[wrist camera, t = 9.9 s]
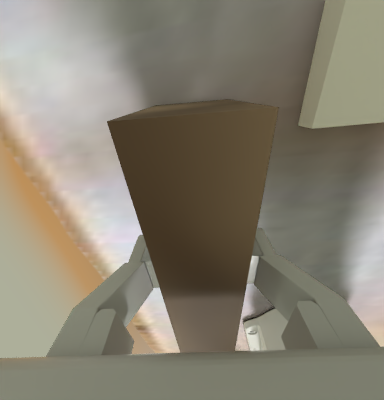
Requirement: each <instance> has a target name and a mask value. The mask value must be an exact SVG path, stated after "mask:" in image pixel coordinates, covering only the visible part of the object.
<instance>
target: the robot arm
mask: <svg viewBox="0 0 384 400" xmlns="http://www.w3.org/2000/svg"><path fill="white" fill-rule="evenodd" d="M247 283H254V285H255V286H256V287H257V288H258V289H259V290H260V291H261V292H262V293H263V295H264V296H265V297H266V298H267V299H268V300H269V301H270V302H271V303H272V304H273V306H274V307H275V309H273V310H271V311H269V312H267V313H265V314H264V315H262V316H260V317H258V318H255V319H252V320H249V321H246V322H244V324H243V325H244V330H245V334H246V338H247V342H248V346H249V350H250V351H222V352H189V353H156V354H131V353H132V348H133V344H134V340H133V338H132V337H131V335H130V334H129V332H128V330H127V329H126V326H127V325H128V324H129V322H130V321H131V320H132V318H133V317H134V315H135V314H136V313H137V311H138V310H139V308H140V307H141V306H142V304H143V303H144V301H145V300H146V299H147V297H148V296H149V294H150V293H151V292H152V290H153V288H158V287H159V283H158V280H157V277H156V274H155V271H154V268H153V265H152V261H151V258H150V255H149V252H148V249H147V246H146V243H145V240H144V236H143V235H140V236H139V237H138V239H137V241H136V244H135V246H134V249H133V252H132V254H131V257H130V259H129V262H128V263H124V264H123V265H122V266H121V267H120V268H119V269H118V270H116V271H115V272H114V273H113V274H112V275H111V276H110V277H109V278H107V279H106V280H105V281H104V282H103V283H102V284H101V285H100V286H98V287H97V288H96V289H95V290H94V291H93V292H91V293H90V294H89V295H88V296H87V297H86V298H85V299H83V300H82V301H81V302H80V303H79V304H78V305H77V306H75V307H74V308H73V309H72V311H71V313H70V315H69V317H68V318H67V320H66V322H65V324H64V326H63V327H62V329H61V331H60V333H59V334H58V336H57V338H56V340H55V342H54V343H53V345H52V347H51V348H50V350H49V352H48V354H47V356H46V357H25V358H0V400H384V347H380V346H379V344H378V343H377V342H376V340H375V339H374V338H373V336H372V335H371V334H370V332H369V331H368V330H367V328H366V327H365V326H364V324H363V323H362V322H361V320H360V319H359V318H358V316H357V315H356V314H355V312H354V311H353V310H352V309H351V307H350V306H349V305H348V303H347V302H346V301H345V299H344V298H343V297H341V296H340V295H338V294H337V293H335V292H334V291H332V290H331V289H329V288H328V287H326V286H325V285H323V284H322V283H321V282H319V281H318V280H316V279H315V278H313V277H312V276H310V275H309V274H307V273H306V272H304V271H303V270H301V269H300V268H298V267H297V266H296V265H294V264H293V263H291V262H290V261H288V260H287V259H285V258H284V257H282V256H281V255H277V254H276V253H275V251H274V249H273V247H272V245H271V244H270V242H269V240H268V238H267V236H266V234H265V233H264V231H263V229H261V228H257V230H256V236H255V241H254V247H253V252H252V258H251V263H250V269H249V274H248V280H247Z"/></svg>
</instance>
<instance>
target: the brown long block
mask: <svg viewBox="0 0 384 400" xmlns="http://www.w3.org/2000/svg"><path fill="white" fill-rule="evenodd" d="M278 109H279V107H274V106H267V105H261V104H254V103H248V102H241V101H235V100H228V99H226V100H214V101H202V102H191V103H179V104H167V105H156V106H153V107H150V108H147V109H144V110H141V111H138V112H135V113H131V114H128V115H125V116H122V117H119V118H116V119H113V120H110V121H107V123H108V126H109V130H110V133H111V136H112V139H113V142H114V145H115V148H116V152H117V155H118V158H119V161H120V164H121V167H122V170H123V174H124V177H125V180H126V183H127V186H128V189H129V192H130V196H131V199H132V202H133V205H134V208H135V211H136V214H137V218H138V221H139V224H140V227H141V230H142V233H143V236H144V240H145V243H146V246H147V249H148V252H149V255H150V258H151V261H152V265H153V268H154V271H155V274H156V277H157V280H158V283H159V287H160V290H161V293H162V296H163V299H164V302H165V305H166V309H167V312H168V315H169V318H170V321H171V324H172V327H173V331H174V334H175V337H176V340H177V343H178V346H179V349H180V353H189V352H222V351H235V346H236V341H237V335H238V330H239V324H240V319H241V313H242V307H243V302H244V296H245V291H246V285H247V280H248V274H249V269H250V263H251V258H252V252H253V247H254V241H255V236H256V230H257V225H258V219H259V214H260V208H261V203H262V197H263V192H264V186H265V181H266V175H267V170H268V164H269V159H270V153H271V148H272V142H273V136H274V131H275V125H276V120H277V114H278Z"/></svg>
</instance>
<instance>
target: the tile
mask: <svg viewBox="0 0 384 400" xmlns="http://www.w3.org/2000/svg"><path fill="white" fill-rule="evenodd" d="M380 122H384V0H325V5H324V9H323V14H322V18H321V23H320V27H319V32H318V36H317V41H316V46H315V50H314V55H313V59H312V64H311V68H310V73H309V77H308V82H307V86H306V91H305V96H304V100H303V105H302V109H301V114H300V118H299V123H298V125H299V126H303V127H307V128H311V129H315V128H326V127H337V126H348V125H359V124H369V123H380Z"/></svg>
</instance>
